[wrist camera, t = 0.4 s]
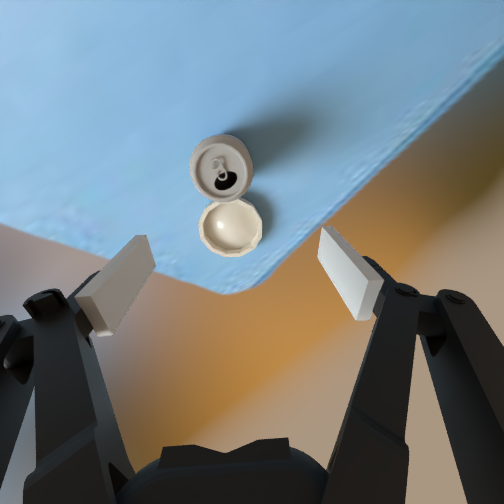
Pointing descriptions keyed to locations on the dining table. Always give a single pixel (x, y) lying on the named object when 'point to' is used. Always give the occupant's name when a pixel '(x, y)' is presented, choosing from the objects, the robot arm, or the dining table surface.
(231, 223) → the bowl
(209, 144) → the can
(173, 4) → the dining table surface
